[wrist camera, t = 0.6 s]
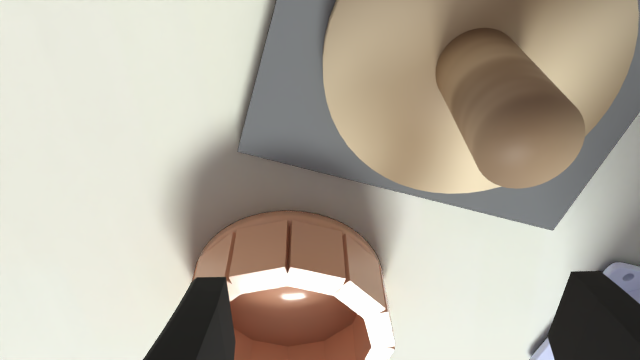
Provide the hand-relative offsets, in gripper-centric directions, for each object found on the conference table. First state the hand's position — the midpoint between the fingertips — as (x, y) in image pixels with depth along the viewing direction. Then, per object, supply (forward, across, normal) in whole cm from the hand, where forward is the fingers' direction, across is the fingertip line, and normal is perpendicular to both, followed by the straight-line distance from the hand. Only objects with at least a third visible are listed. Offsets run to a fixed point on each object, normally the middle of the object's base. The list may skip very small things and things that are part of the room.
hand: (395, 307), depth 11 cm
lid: (+10, -4, -2) cm, 11 cm away
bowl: (+10, +3, +10) cm, 14 cm away
